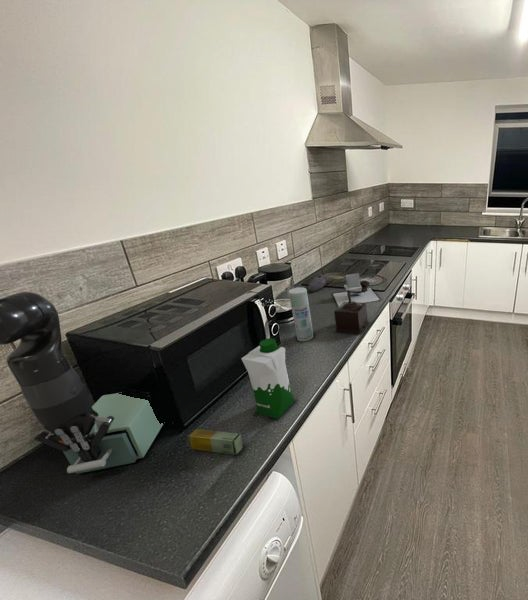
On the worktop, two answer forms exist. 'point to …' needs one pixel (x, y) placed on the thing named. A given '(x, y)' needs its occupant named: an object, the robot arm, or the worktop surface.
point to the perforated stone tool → (316, 283)
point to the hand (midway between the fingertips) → (93, 459)
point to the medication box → (216, 441)
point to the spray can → (301, 313)
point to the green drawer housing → (130, 419)
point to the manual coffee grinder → (352, 313)
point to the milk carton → (269, 378)
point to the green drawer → (105, 454)
